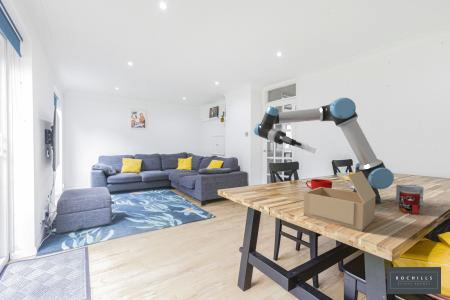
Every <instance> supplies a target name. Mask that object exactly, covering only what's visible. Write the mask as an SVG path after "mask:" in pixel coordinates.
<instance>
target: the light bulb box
mask: <svg viewBox="0 0 450 300" xmlns="http://www.w3.org/2000/svg"><path fill="white" fill-rule="evenodd" d="M395 189H396V190H395V191H396V192H395V202H396V203H398V204H399V194H400V190H401V189H405V190H414V191H418V192H420V206H423V205H424V186H422V185H417V184H396V188H395Z"/></svg>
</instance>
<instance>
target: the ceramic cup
mask: <svg viewBox="0 0 450 300" xmlns="http://www.w3.org/2000/svg"><path fill="white" fill-rule="evenodd" d="M308 183H310V186H309V184H308ZM305 185H306V187H308V188H309V189H311V190H313V189H316V188H319V187H324V188H331V189H333V188H332V187H333V181H332V180H328V179H324V178H323V179H322V178H321V179H320V178H315V179H314V178H313V179H310V180H306V181H305Z"/></svg>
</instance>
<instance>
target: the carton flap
mask: <svg viewBox="0 0 450 300" xmlns="http://www.w3.org/2000/svg"><path fill="white" fill-rule="evenodd" d="M347 176H348V177H347V178H348V179H349V180H350V183H351V184H352V186H353V187H354V188H355V189H356V191H357V193H358V195H359V197H360V198H361V200H362V202H363V204H364V203H366V202H367V201H369V200H370V199H372V198H373V197H375V196H376V194H375V193H374V191H373V189H372V188H371V186H370V184H369V183H368V181H367V179H366V177H365V176H364V174H363V172H362V171H361V172H357V173H355V172H354V173H351V174H348V175H347ZM354 188H353V189H354Z"/></svg>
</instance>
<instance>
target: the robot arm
mask: <svg viewBox="0 0 450 300" xmlns="http://www.w3.org/2000/svg"><path fill="white" fill-rule="evenodd" d="M356 109H357V106H356V103H355V102H354V101H353V100H352V99H351V98H349V97H340V98H339V97H338V98H337V99H335V100H333V101H332V102H331V103H329V104H325V105H321V106H319V107H317V108H308V109H301V110H297V109H296V110H292V111H291V110H289V111H280V110H279V109H278V108H276V107H274V106H271V105H270V106H268V107H267V108H266V110H265V113H264V115H263V117H262V120H261V122H260V123H257V124H256V125H255V126H254V128H253V133H254V135H256V136H257V137H260V138H263V139H264V140H267V141H269V143H271V142H273V143H275V144H277V145H282V144H286V145H290V146H292V147H297V148H299V149H301V150H304V151H307V152H309V153H312V154H315V153H316V150H317V148H314V147H312V146H310V145H309V144H307V143H304V142H302V141H299V140H296V139H294V138H291V137H290V136H287V133H286V132H284V131H283V130H279V129H276V128H274V126H275V125H278V124H279V125H281V124H290V123H300V122H301V123H302V122H312V121H313V122H314V121H320V122H334V123H335V126H336V127H338V128H340V129H341V131H342V133H343V134H344V137H345V138H346V140H347V142H348V145H349V146H350V148H351V150H352V152H353V153H354V155H355V157H356V159H357V161H358V162H357V163H355V168H354V169H355V172H354V173H357V172H361V171H362V172H363V174H364V176H365V177H366V179H367V181H368V183H369V184H370V186H371V188H372V189H373V191H374V193H375V194H376V196H375V204H380V203H381V201H382V198H381V196H380V192H379V190H384V189H387V188H390V187H391V186H392V185H393V183H394V181H395V175H394V173H393V172H392V170H391V169H389V168H387V167H386V165H385V163H384V161H383V160H381V159H379V158H377V155H376V153H375V151H374V150H373V148H372V146H371V145H370V142H369V141H368V138H367V137H366V135H365V133H364V131H363V129H362V128H361V126H360V124H359V122H358V120H357V119H358V117H359V115H358V114H357V112H356ZM352 192H356V193H357V191H356V189H355V188H353V190H352Z"/></svg>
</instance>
